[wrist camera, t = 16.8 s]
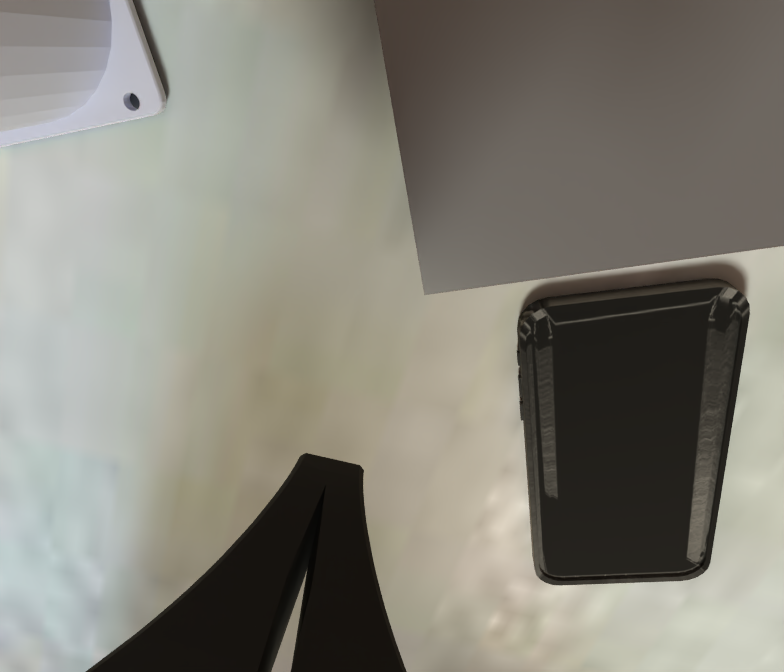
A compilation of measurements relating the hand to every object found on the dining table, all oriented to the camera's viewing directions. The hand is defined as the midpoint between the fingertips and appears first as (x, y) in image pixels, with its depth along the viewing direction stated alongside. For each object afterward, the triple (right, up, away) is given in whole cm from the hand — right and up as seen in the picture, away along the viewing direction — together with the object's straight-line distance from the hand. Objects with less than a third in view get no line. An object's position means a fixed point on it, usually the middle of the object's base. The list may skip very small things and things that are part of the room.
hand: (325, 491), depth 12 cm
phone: (+11, -1, +11) cm, 16 cm away
